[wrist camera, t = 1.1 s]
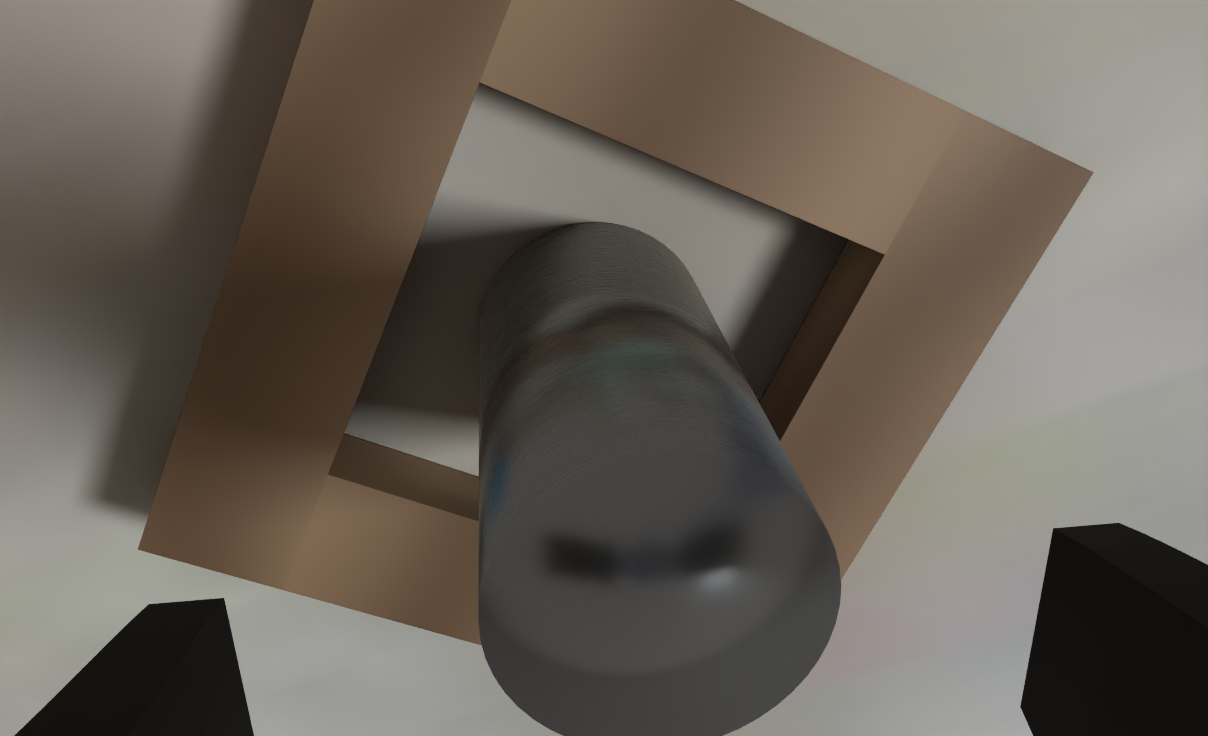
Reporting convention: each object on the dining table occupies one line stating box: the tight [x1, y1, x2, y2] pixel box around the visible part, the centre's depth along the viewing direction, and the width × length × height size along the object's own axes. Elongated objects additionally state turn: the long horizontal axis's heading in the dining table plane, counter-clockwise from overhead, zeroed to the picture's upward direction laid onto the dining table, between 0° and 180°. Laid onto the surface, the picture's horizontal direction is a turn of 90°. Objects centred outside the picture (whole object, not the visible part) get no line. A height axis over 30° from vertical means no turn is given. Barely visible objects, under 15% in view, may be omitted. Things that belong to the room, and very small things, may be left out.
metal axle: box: [478, 222, 841, 736], centre depth 15 cm, size 4×4×8 cm
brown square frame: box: [138, 0, 1094, 645], centre depth 18 cm, size 12×12×2 cm
